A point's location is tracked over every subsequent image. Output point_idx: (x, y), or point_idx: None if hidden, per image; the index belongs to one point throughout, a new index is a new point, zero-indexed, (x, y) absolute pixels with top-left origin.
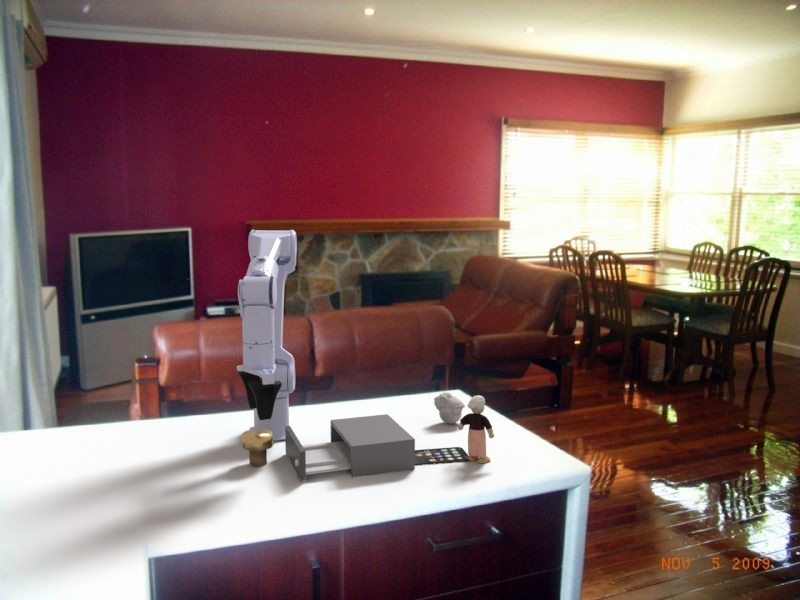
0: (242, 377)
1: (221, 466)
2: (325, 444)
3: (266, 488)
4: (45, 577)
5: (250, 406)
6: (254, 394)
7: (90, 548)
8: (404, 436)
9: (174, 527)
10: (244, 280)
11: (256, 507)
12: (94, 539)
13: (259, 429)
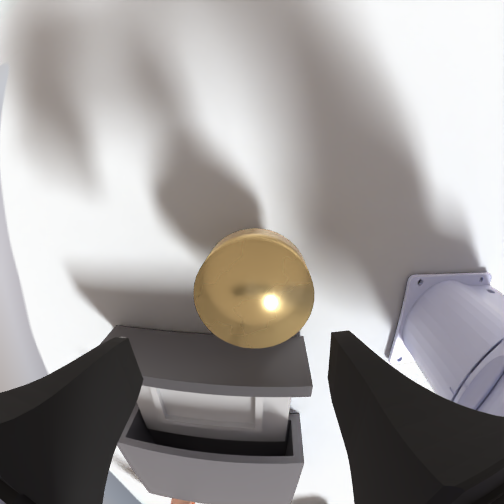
0: (425, 474)
1: (271, 155)
2: (257, 418)
3: (99, 252)
4: (3, 6)
5: (333, 339)
6: (1, 396)
7: (23, 11)
8: (162, 492)
9: (17, 91)
10: None
11: (35, 221)
12: (38, 3)
13: (299, 312)
